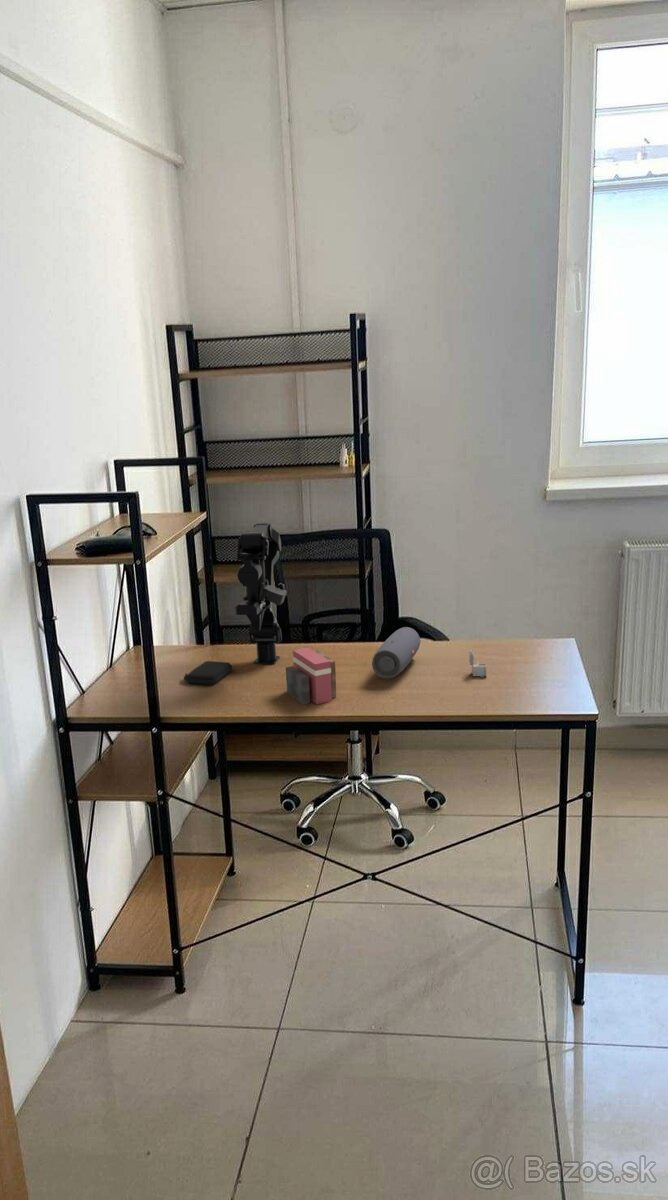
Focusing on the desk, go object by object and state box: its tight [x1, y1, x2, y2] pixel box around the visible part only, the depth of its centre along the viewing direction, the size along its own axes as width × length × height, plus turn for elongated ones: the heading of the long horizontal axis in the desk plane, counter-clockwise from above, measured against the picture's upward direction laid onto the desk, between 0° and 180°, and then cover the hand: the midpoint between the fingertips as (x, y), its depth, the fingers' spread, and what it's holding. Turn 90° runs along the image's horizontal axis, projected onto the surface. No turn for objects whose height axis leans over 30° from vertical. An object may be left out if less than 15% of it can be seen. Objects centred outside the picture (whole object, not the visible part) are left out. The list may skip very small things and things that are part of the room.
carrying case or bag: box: [183, 660, 234, 687], centre depth 258 cm, size 11×3×15 cm
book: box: [292, 647, 333, 705], centre depth 240 cm, size 14×4×11 cm, turn 26°
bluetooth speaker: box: [371, 626, 421, 679], centre depth 257 cm, size 23×9×10 cm, turn 161°
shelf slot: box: [285, 650, 337, 705], centre depth 240 cm, size 10×10×10 cm
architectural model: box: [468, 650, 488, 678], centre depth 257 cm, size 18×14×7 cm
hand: (258, 631), depth 255 cm, fingers closed
